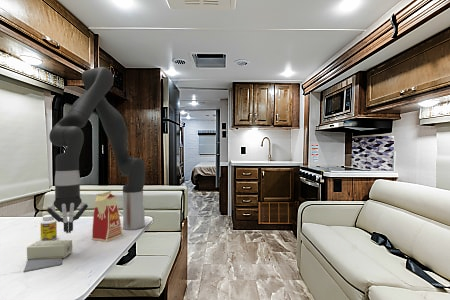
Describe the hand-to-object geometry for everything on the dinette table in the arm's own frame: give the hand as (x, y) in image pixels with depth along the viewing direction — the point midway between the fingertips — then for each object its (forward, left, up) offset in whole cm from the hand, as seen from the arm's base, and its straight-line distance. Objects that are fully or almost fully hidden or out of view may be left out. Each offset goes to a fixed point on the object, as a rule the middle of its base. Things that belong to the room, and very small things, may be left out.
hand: (68, 232), depth 94 cm
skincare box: (0, -1, -6) cm, 6 cm away
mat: (+7, 0, -8) cm, 11 cm away
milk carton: (-14, -15, -9) cm, 22 cm away
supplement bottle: (+7, -24, -9) cm, 26 cm away
